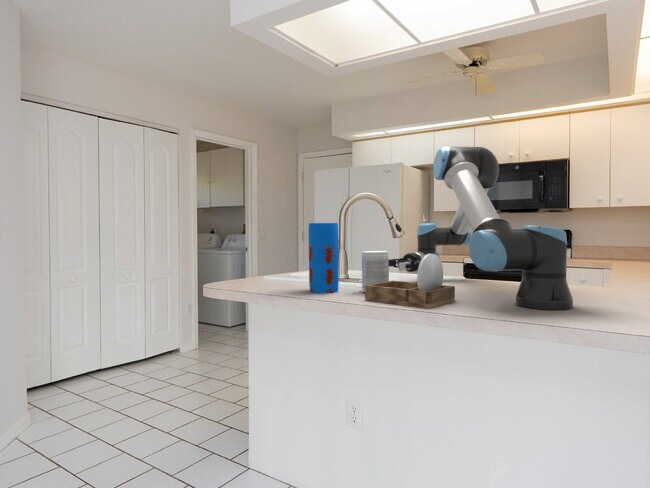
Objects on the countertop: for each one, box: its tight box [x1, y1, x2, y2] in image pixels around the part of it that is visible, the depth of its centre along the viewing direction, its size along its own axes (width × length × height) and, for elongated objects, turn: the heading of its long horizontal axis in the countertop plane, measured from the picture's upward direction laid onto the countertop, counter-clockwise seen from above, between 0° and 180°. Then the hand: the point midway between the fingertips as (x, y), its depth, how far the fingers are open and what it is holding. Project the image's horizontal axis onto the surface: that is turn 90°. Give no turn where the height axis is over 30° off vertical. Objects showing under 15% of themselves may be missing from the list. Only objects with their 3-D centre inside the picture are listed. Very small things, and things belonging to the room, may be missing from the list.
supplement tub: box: [361, 250, 390, 293], centre depth 161 cm, size 10×10×15 cm
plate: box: [416, 254, 444, 291], centre depth 137 cm, size 1×14×14 cm, turn 138°
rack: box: [364, 280, 456, 309], centre depth 142 cm, size 23×16×5 cm
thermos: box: [308, 222, 340, 294], centre depth 164 cm, size 11×11×25 cm
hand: (384, 266), depth 165 cm, fingers open, 13 cm apart
